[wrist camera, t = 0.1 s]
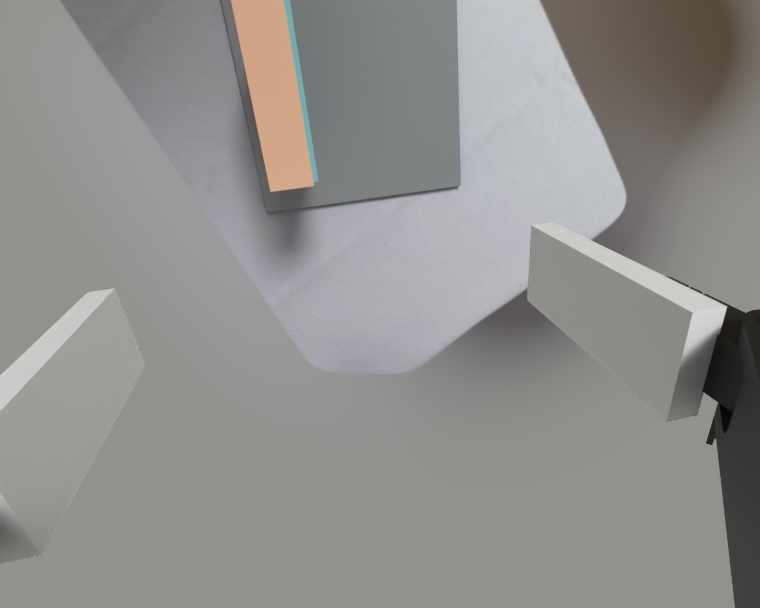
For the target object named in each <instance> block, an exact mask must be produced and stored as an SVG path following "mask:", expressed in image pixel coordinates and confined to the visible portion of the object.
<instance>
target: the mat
mask: <svg viewBox="0 0 760 608" xmlns="http://www.w3.org/2000/svg"><path fill="white" fill-rule="evenodd" d="M221 2H222V6H223V11H224V16H225V20H226V25H227V30H228V34H229V39H230V44H231V48H232V53H233V58H234V62H235V67H236V72H237V76H238V81H239V86H240V90H241V95H242V100H243V104H244V109H245V114H246V118H247V123H248V128H249V132H250V137H251V142H252V146H253V151H254V156H255V160H256V165H257V170H258V174H259V179H260V184H261V188H262V193H263V198H264V202H265V207H266V212H267V213H271V212H278V211H285V210H292V209H299V208H307V207H314V206H321V205H328V204H335V203H342V202H349V201H356V200H363V199H370V198H377V197H384V196H391V195H399V194H406V193H413V192H420V191H427V190H434V189H441V188H448V187H455V186H461V183H460V138H459V93H458V49H457V4H456V0H290V5H291V11H292V17H293V24H294V30H295V36H296V43H297V49H298V55H299V62H300V68H301V74H302V81H303V87H304V93H305V100H306V106H307V112H308V119H309V125H310V131H311V138H312V144H313V150H314V157H315V163H316V169H317V176H318V182H314V186H311V187H304V188H296V189H289V190H281V191H274V192H270V188H269V183H268V178H267V173H266V168H265V163H264V158H263V154H262V149H261V144H260V139H259V134H258V129H257V124H256V120H255V115H254V110H253V105H252V100H251V95H250V90H249V86H248V81H247V76H246V71H245V66H244V61H243V57H242V52H241V47H240V42H239V37H238V32H237V27H236V23H235V18H234V13H233V8H232V3H231V0H221Z"/></svg>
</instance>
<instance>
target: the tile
mask: <svg viewBox="0 0 760 608" xmlns="http://www.w3.org/2000/svg"><path fill="white" fill-rule="evenodd" d="M231 3H232V8H233V13H234V18H235V23H236V27H237V32H238V37H239V42H240V47H241V52H242V57H243V61H244V66H245V71H246V76H247V81H248V86H249V90H250V95H251V100H252V105H253V110H254V115H255V120H256V124H257V129H258V134H259V139H260V144H261V149H262V154H263V158H264V163H265V168H266V173H267V178H268V183H269V188H270V192H274V191H281V190H289V189H296V188H304V187H311V186H314V182H318V176H317V169H316V163H315V157H314V150H313V144H312V138H311V131H310V125H309V119H308V112H307V106H306V100H305V93H304V87H303V81H302V74H301V68H300V62H299V55H298V49H297V43H296V36H295V30H294V24H293V17H292V11H291V5H290V0H231Z"/></svg>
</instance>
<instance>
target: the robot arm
mask: <svg viewBox="0 0 760 608" xmlns="http://www.w3.org/2000/svg"><path fill="white" fill-rule="evenodd" d="M527 300H528V301H529V302H530V303H531V304H532V305H533V306H534V307H536V308H537V309H538V310H539V311H540V312H541V313H542V314H544V315H545V316H546V317H547V318H548V319H549V320H551V321H552V322H553V323H554V324H555V325H556V326H557V327H559V328H560V329H561V330H562V331H563V332H564V333H565V334H567V335H568V336H569V337H570V338H571V339H572V340H573V341H575V342H576V343H577V344H578V345H579V346H580V347H582V348H583V349H584V350H585V351H586V352H587V353H589V354H590V355H591V356H592V357H593V358H594V359H596V361H598V362H599V363H600V364H601V365H602V366H603V367H605V368H606V369H607V370H608V371H609V372H610V373H611V374H613V375H614V376H615V377H616V378H617V379H618V380H619V381H621V382H622V383H623V384H624V385H625V386H626V387H628V388H629V389H630V390H631V391H632V392H633V393H634V394H636V395H637V396H638V397H639V398H640V399H641V400H642V401H644V402H645V403H646V404H647V405H648V406H649V407H650V408H652V409H653V410H654V411H655V412H656V413H657V414H659V415H660V416H661V417H662V418H663V419H664V420H666V421H672V420H676V419H681V418H686V417H690V416H695V415H697V414H698V411H699V407H700V403H701V400H702V396H703V393H706V394H707V395H709V396H710V397H711V398H713V399H714V400H716V401H717V402H718V405H717V408H716V412H715V415H714V418H713V422H712V425H711V429H710V432H709V435H708V438H707V442H706V444H710V445H712V444H713V441H714V439H716V441H717V450H718V459H719V468H720V477H721V486H722V494H723V503H724V512H725V521H726V530H727V539H728V548H729V557H730V565H731V575H732V584H733V593H734V602H735V608H760V309H759V310H752V311H749V312H747V313H745V312H742V311H740V310H738V309H736V308H734V307H732V306H730V305H728V304H726V303H723V302H721V301H720V300H717V299H715V298H713V297H711V296H709V295H707V294H702V292H701V291H699V290H696V289H694V288H692V287H691V288H689V287H688V285H686V284H684V283H682V282H680V281H678V280H676V279H673V278H671V277H667V276H663V275H661V274H659V273H657V272H655V271H653V270H651V269H649V268H647V267H644V266H643V265H640V264H638V263H636V262H634V261H632V260H630V259H628V258H626V257H624V256H622V255H620V254H618V253H616V252H614V251H612V250H610V249H607V248H605V247H603V246H601V245H599V244H597V243H595V242H593V241H591V240H589V239H587V238H585V237H583V236H581V235H578V234H576V233H574V232H572V231H570V230H568V229H566V228H564V227H562V226H560V225H558V224H556V223H554V222H551V223H545V224H538V225H531V242H530V260H529V279H528V297H527ZM144 367H145V363H144V361H143V358H142V355H141V353H140V350H139V348H138V345H137V343H136V340H135V338H134V335H133V333H132V330H131V328H130V325H129V323H128V320H127V317H126V315H125V312H124V310H123V307H122V305H121V302H120V300H119V297H118V294H117V292H116V290H115V288H114V289H107V290H100V291H94V292H88V293H87V294H86V295H85V296H83V297H82V298H81V299H80V300H79V301H78V302H77V303H76V304H75V305H74V306H73V307H72V308H71V309H70V310H69V311H68V312H67V313H66V314H64V315H63V316H62V317H61V318H60V319H59V320H58V321H57V322H56V323H55V324H54V325H53V326H52V327H51V328H50V329H49V330H48V331H47V332H46V333H45V334H44V335H42V336H41V337H40V338H39V339H38V340H37V341H36V342H35V343H34V344H33V345H32V346H31V347H30V348H29V349H28V350H27V351H26V352H25V353H24V354H23V355H21V356H20V357H19V358H18V359H17V360H16V361H15V362H14V363H13V364H12V365H11V366H10V367H9V368H8V369H7V370H6V371H5V372H3V374H1V375H0V564H1V563H5V562H10V561H15V560H20V559H24V558H29V557H33V556H38V555H42V553H43V551H44V549H45V548H46V546H47V544H48V542H49V540H50V539H51V537H52V535H53V533H54V531H55V529H56V528H57V526H58V524H59V522H60V520H61V519H62V517H63V515H64V513H65V511H66V509H67V507H68V506H69V504H70V502H71V500H72V498H73V496H74V495H75V493H76V491H77V489H78V488H79V486H80V484H81V482H82V480H83V479H84V476H85V475H86V473H87V471H88V469H89V468H90V466H91V464H92V462H93V460H94V459H95V457H96V455H97V453H98V451H99V449H100V448H101V446H102V444H103V442H104V440H105V438H106V437H107V435H108V433H109V431H110V429H111V427H112V425H113V424H114V422H115V420H116V419H117V417H118V415H119V413H120V411H121V409H122V408H123V406H124V404H125V402H126V400H127V398H128V396H129V395H130V393H131V391H132V389H133V388H134V386H135V384H136V382H137V380H138V379H139V377H140V375H141V373H142V371H143V369H144Z"/></svg>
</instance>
